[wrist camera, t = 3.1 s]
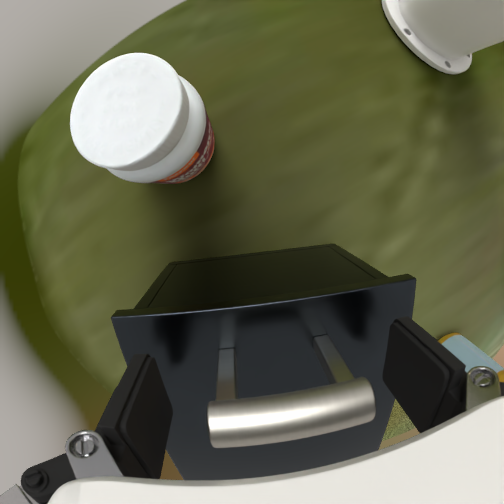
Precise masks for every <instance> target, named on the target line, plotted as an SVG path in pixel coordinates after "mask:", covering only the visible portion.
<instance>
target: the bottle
mask: <svg viewBox="0 0 504 504" xmlns="http://www.w3.org/2000/svg"><path fill="white" fill-rule="evenodd" d="M438 342H440V343H441V344H442V345H443V346H444V347H445V348H447V349H448V350H449V351H450V352H451V353H452V354H454V355H455V356H456V357H457V358H458V359H459V360H460V361H462V362H463V363H464V364H465V365H466V368H465V371H466V372H467V373H468V371H469V370H470V369H471V368H473V367H476V366H486V367H489V368H491V369H493V370H494V371H495V372H496V373H497V374H498V377H499V382H504V368H503V367H501V366H500V365H499V364H498V363H496V362H495V361H494V360H493V359H492V358H490V357H489V356H488V355H487V354H485V353H484V352H483V351H482V350H480V349H479V348H478V347H476V346H475V345H474V344H473V343H471V342H470V341H469V340H467V339H466V338H465V337H463V336H462V335H460V334H459V333H451V334H448V335H445V336H443V337H442V338H440V339H439V340H438Z"/></svg>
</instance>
